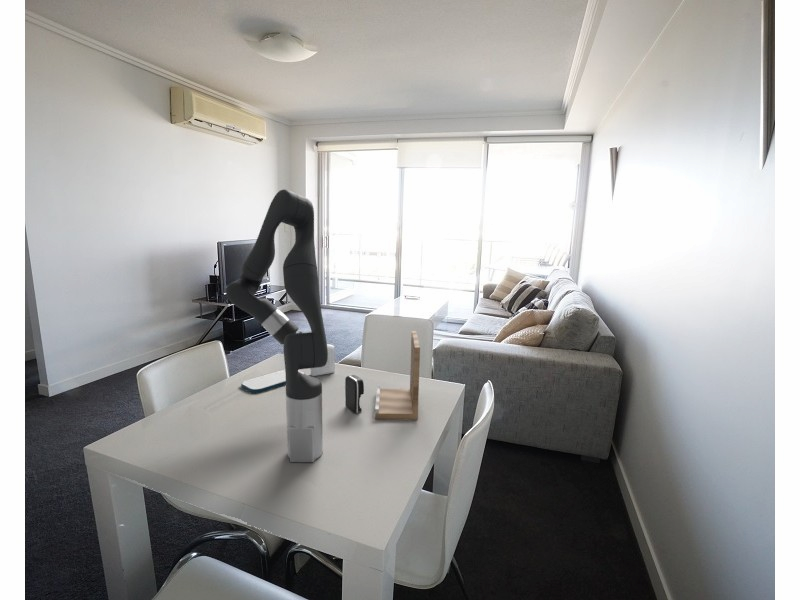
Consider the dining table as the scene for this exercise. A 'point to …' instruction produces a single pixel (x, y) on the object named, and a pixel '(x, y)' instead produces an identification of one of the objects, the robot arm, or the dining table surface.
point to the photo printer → (329, 365)
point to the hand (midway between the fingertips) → (316, 361)
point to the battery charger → (353, 393)
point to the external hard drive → (266, 382)
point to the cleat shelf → (401, 392)
